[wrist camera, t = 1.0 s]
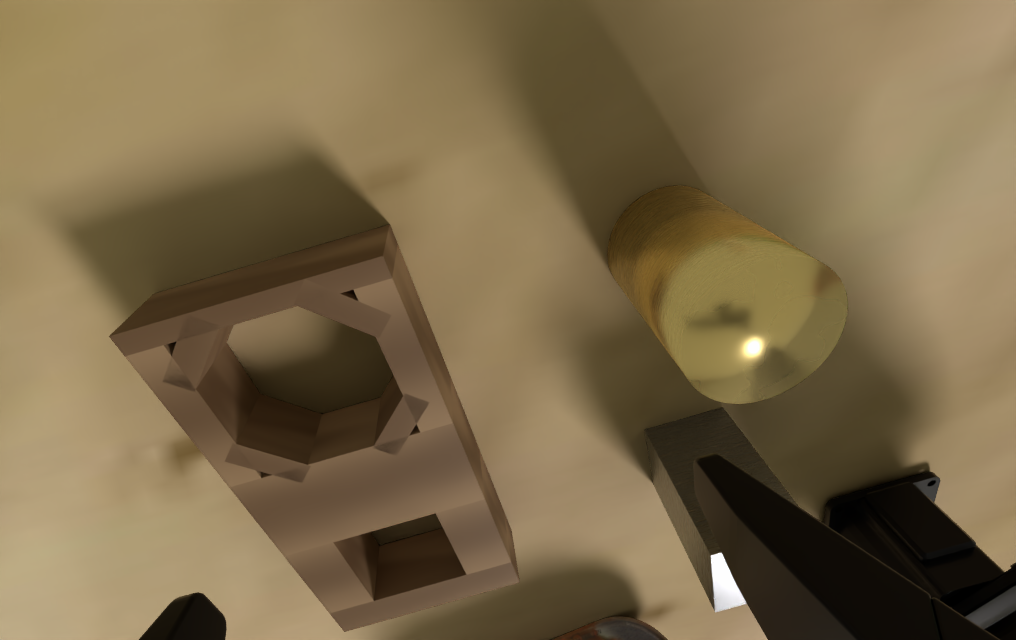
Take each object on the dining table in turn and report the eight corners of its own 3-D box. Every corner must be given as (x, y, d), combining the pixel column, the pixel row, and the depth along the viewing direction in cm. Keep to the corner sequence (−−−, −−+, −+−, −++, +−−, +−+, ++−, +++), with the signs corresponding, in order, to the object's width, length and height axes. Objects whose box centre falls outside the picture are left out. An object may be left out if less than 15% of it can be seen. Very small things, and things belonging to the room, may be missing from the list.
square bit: (725, 462, 27) (808, 586, 21) (652, 483, 27) (715, 612, 21) (722, 407, 25) (813, 526, 19) (644, 429, 25) (711, 555, 19)
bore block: (511, 530, 28) (519, 582, 25) (352, 575, 28) (344, 631, 25) (389, 224, 18) (382, 256, 16) (153, 293, 19) (109, 336, 16)
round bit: (726, 280, 22) (840, 378, 16) (616, 312, 22) (688, 421, 16) (721, 169, 19) (855, 234, 13) (598, 205, 19) (675, 286, 13)
